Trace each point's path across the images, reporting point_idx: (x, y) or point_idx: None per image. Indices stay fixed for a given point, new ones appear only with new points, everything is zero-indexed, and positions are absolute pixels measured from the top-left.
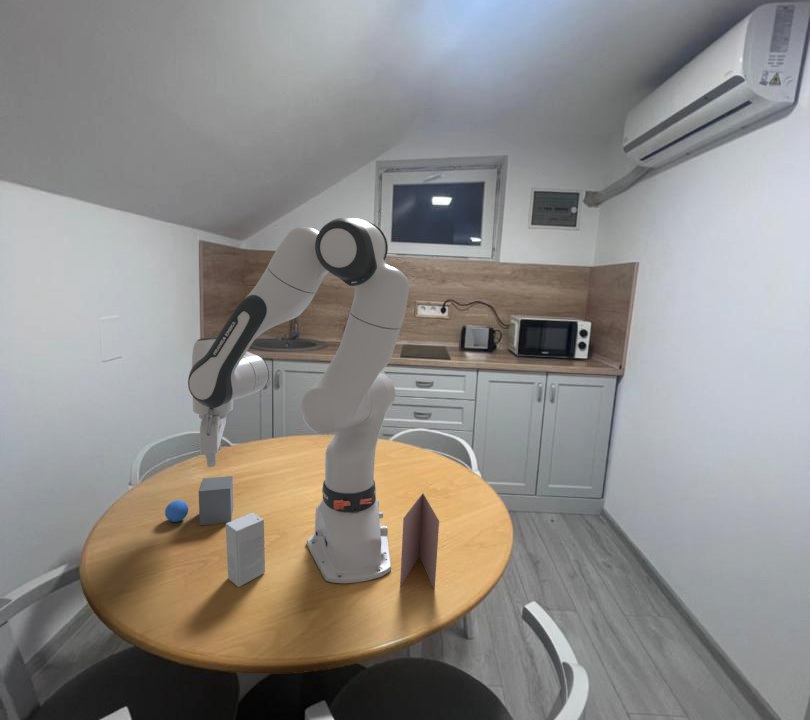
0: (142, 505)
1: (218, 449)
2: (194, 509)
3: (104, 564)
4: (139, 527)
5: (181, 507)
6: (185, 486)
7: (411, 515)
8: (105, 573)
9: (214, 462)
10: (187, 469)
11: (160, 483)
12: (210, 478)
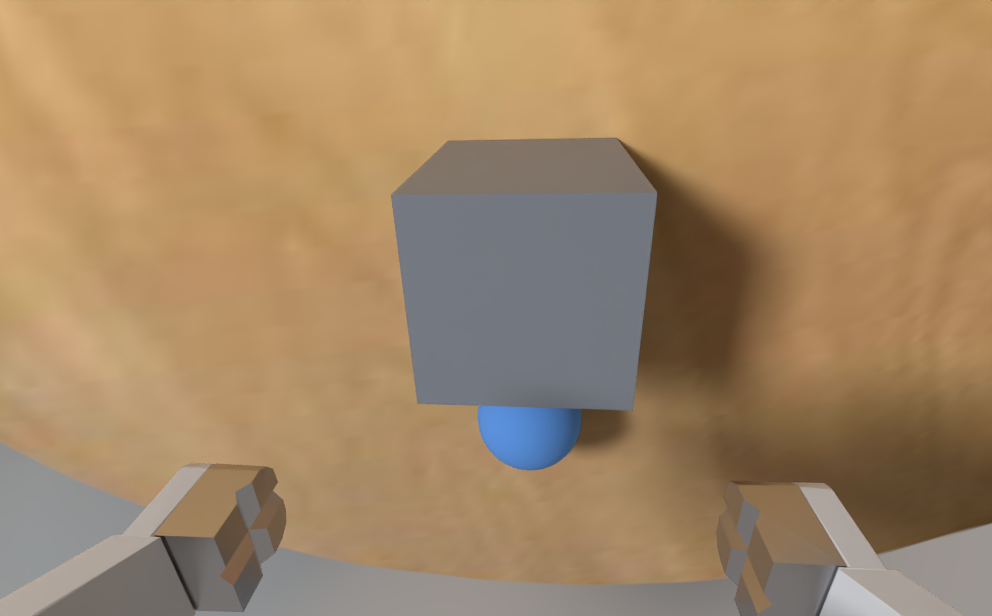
0: (379, 507)
1: (263, 483)
2: None
3: None
4: (554, 492)
5: (561, 415)
6: (205, 394)
7: None
8: None
9: (849, 531)
10: (28, 407)
11: None
12: (426, 357)
